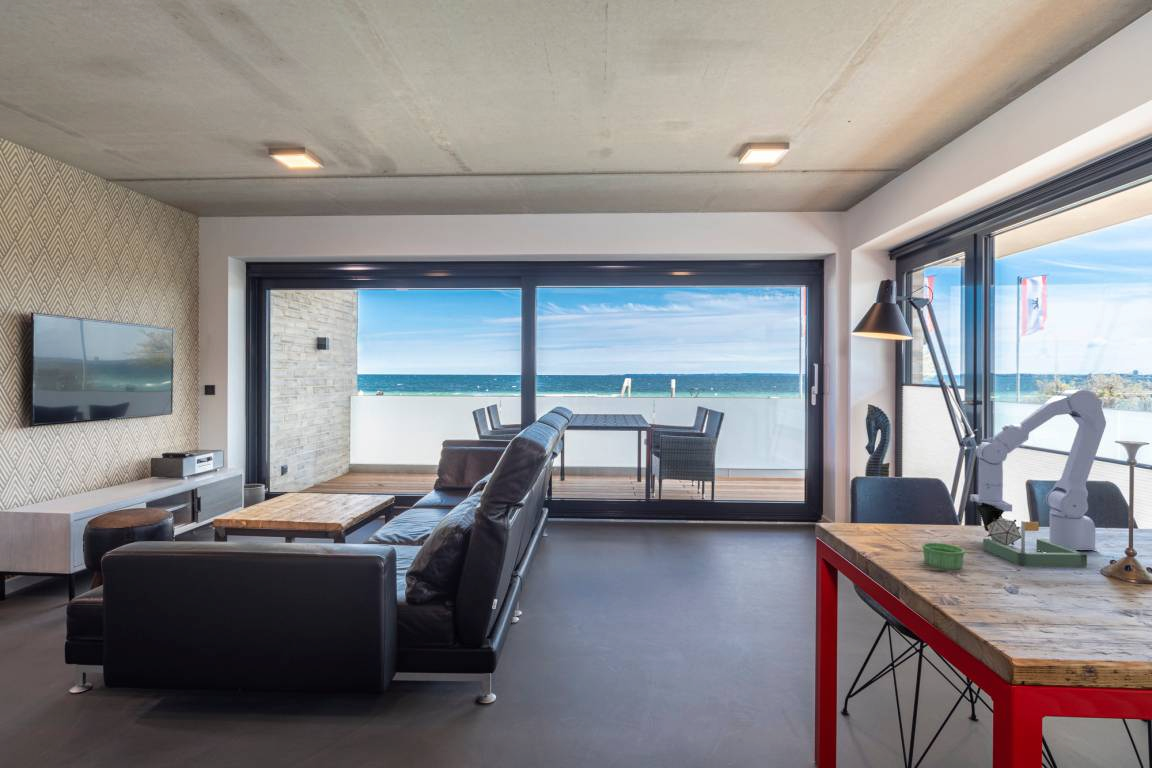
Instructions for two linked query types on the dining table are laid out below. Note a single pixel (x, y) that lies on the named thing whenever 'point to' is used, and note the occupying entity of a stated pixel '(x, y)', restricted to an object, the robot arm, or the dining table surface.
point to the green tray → (1052, 557)
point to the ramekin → (943, 555)
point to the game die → (1003, 531)
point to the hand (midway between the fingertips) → (990, 530)
